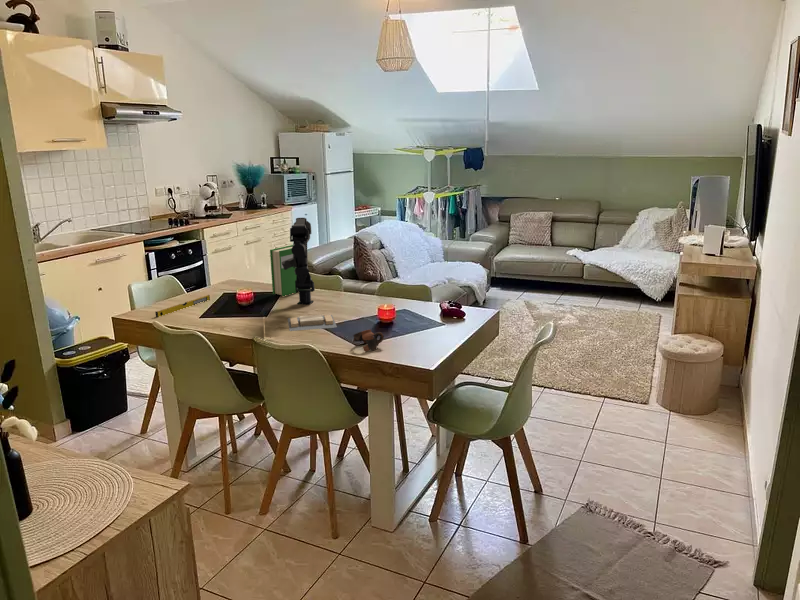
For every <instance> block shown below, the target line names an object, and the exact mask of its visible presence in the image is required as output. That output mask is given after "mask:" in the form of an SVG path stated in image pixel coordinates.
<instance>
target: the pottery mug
mask: <svg viewBox="0 0 800 600" xmlns="http://www.w3.org/2000/svg"><path fill="white" fill-rule="evenodd" d="M352 336H353V341H352V342H353V343H357V342H363V343H364V346H363V345H362V349H363V351H366V352H370V351H374V349H375V350H377V349H378V348H377V347H378V346H379V344H381V343H382V342H383V341H384V338H385V335H384V334H383V333H382V332H381V331H377V332H372V329H366V330H362V331H359V332H357V333H355V334H353V335H352ZM378 337H379V339H378ZM365 343H366V344H365ZM376 348H377V349H376Z"/></svg>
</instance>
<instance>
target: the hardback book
mask: <svg viewBox="0 0 800 600" xmlns="http://www.w3.org/2000/svg"><path fill="white" fill-rule="evenodd" d="M292 247H293V244H291V245H290V244H289V245H285V246H281V247H275V248H273V249H272V248H271V249H270V250H269V256H270V257H269V258H270V271H271V284H272V285H271V287H272V295H273V294H277V295H280V296H281V297H282V296H285V295H288V296H290V295H289V294H291V295H293V294H292V293H294V294H296V288H295V280H296V276H297V275H295V272H294V270H295V268H293V267H290V268H288V269H287V270H284V268H283V265H282V262H283V261H285V260H288V259H291V258H293V254H292ZM285 297H286V296H285Z"/></svg>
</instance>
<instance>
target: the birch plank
mask: <svg viewBox="0 0 800 600" xmlns="http://www.w3.org/2000/svg"><path fill="white" fill-rule="evenodd" d="M323 316H324V315H323V314H311V315H299V316H298V317H299V321H300V325H301V326H306V325H319V324H324V319H323Z"/></svg>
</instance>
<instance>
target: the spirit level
mask: <svg viewBox="0 0 800 600" xmlns="http://www.w3.org/2000/svg"><path fill="white" fill-rule="evenodd" d="M207 300H209V301H211V296H210V294H206V295H204V296H200V297H197V298H195V299H191V300H189V301H185V302H184V303H179V304H177V305H173V306H170V307H169V306H168V307H167V308H164V309H160V310H157V311H154V312H155V318H160V317H159V316H161V317H163V316H162V315H164V316H166V315H165V314H167V315H169V314H168V313H170V314H173V313H175V312H174V311H176V312H178V311H177V310H179V311H181V310H180V309H182V310H184V309H183V308H185V309H187V308H186V307H188V308H190V307H189V306H191V307H193V306H192V305H194V306H196V305H195V304H197V303H200V302H203V301H206V302H208V301H207ZM203 303H204V302H203ZM200 304H201V303H200ZM197 305H198V304H197ZM172 312H173V313H172Z"/></svg>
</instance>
